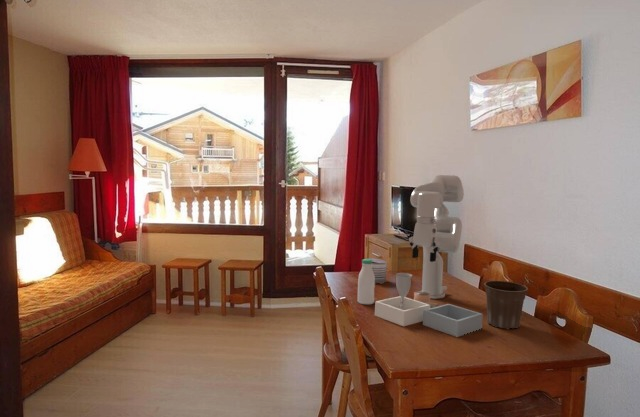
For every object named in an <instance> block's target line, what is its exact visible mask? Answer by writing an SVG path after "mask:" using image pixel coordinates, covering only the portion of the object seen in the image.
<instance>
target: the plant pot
mask: <svg viewBox="0 0 640 417" xmlns="http://www.w3.org/2000/svg"><path fill="white" fill-rule="evenodd" d="M483 285H484V287H485V294H486V319H487V320H486V322H487V324H488V325H491V326H492V327H494V326H495V327H494V328H497V327H500V328H499V329H501V328H512V329H514V328H517V327H519V328H520V325H521V318H522V311H523V307H524V301H525V299H526V295H527V292H528V290H529V288H528V287H527V286H526V285H523V284H521V283H516V282H512V281H508V280H506V281H504V280H489V281H485V282H484V284H483ZM517 329H518V328H517Z"/></svg>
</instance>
